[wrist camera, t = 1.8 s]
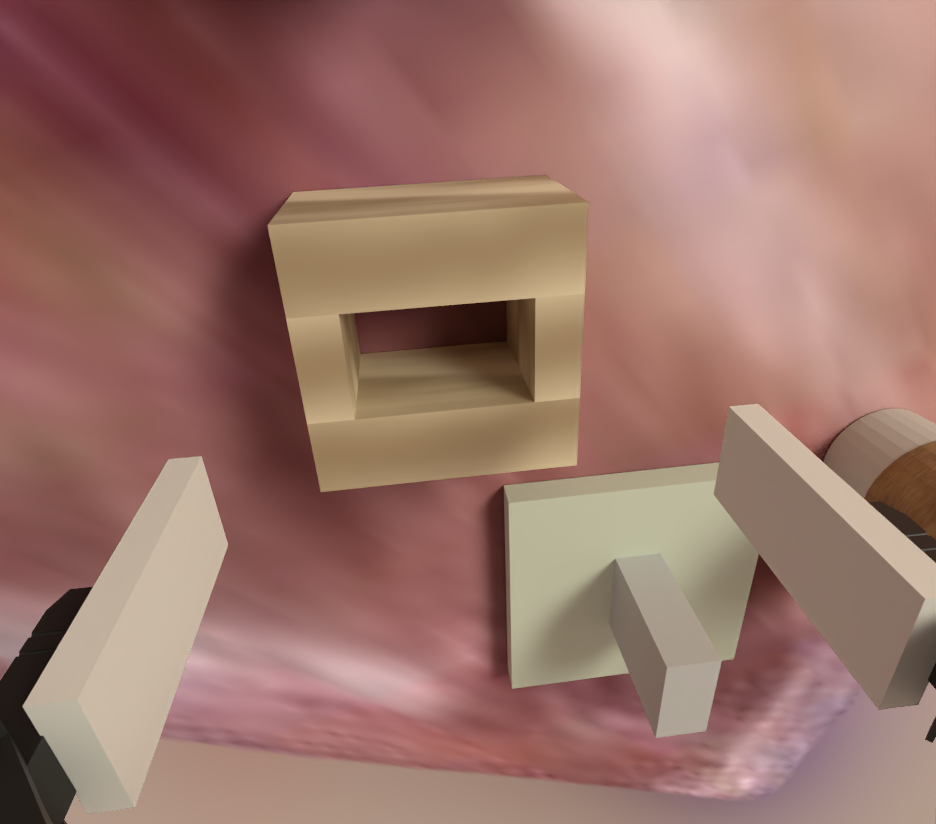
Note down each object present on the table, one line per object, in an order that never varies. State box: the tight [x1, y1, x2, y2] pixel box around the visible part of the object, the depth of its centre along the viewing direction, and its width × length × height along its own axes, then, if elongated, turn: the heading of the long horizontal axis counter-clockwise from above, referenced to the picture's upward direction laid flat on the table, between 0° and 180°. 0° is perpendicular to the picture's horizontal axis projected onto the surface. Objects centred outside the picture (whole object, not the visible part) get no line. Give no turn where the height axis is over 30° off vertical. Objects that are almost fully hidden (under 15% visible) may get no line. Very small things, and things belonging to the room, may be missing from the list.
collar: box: [267, 175, 589, 492], centre depth 24 cm, size 10×10×6 cm
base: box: [504, 462, 759, 738], centre depth 32 cm, size 14×14×8 cm
